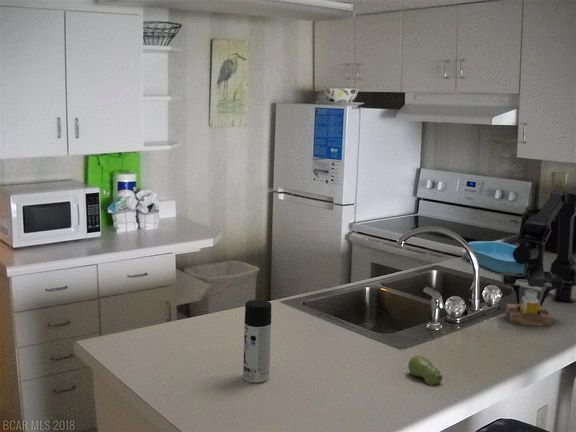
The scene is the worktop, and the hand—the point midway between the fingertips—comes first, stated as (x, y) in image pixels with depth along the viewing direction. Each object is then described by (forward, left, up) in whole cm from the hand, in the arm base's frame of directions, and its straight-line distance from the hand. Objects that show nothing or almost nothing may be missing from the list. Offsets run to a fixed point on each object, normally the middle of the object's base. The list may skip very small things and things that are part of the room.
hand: (529, 304), depth 226 cm
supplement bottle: (0, 0, -5) cm, 5 cm away
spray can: (+62, -79, -5) cm, 101 cm away
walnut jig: (0, 0, -5) cm, 5 cm away
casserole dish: (-68, +2, -6) cm, 68 cm away
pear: (+54, -36, -5) cm, 65 cm away
